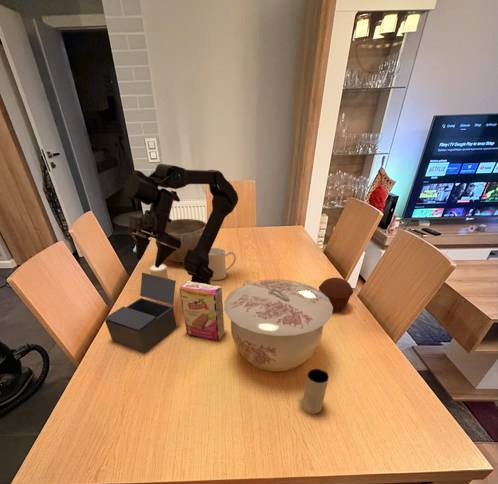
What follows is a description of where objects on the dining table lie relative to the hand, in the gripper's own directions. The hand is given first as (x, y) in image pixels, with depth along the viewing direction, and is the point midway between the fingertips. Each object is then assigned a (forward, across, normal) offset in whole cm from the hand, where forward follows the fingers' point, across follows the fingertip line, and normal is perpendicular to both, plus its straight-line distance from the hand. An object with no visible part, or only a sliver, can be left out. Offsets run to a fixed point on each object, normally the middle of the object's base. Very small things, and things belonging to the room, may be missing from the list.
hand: (147, 263), depth 92 cm
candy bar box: (+14, +22, +11) cm, 28 cm away
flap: (+6, +5, +2) cm, 8 cm away
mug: (-3, -3, +40) cm, 40 cm away
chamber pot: (+11, +44, +16) cm, 48 cm away
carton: (+21, +7, 0) cm, 22 cm away
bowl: (-4, -29, +42) cm, 51 cm away
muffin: (-7, +44, +45) cm, 64 cm away
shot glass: (+8, -17, +22) cm, 29 cm away
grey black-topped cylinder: (+17, +63, +7) cm, 65 cm away
